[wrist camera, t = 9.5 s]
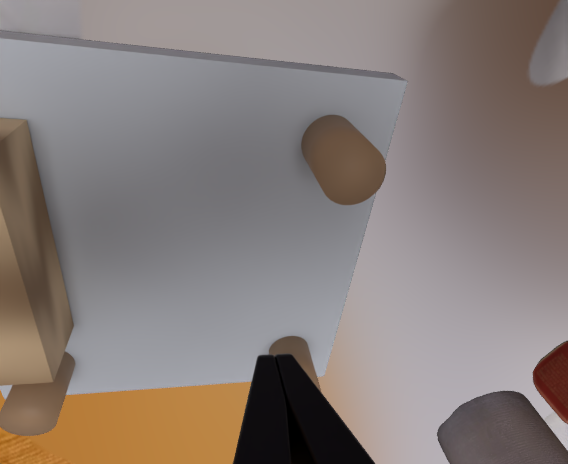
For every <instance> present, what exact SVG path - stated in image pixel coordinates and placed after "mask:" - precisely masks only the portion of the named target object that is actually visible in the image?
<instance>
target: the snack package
mask: <svg viewBox="0 0 568 464" xmlns="http://www.w3.org/2000/svg"><path fill="white" fill-rule="evenodd" d="M533 382H534V385H535V387H536V389H537V391H538V392H539V393H540V395H541V396H542V397H543V398H544V399H545V401H546V402H547V403H548V404H549V405H550V407H551V408H552V409H553V410H554V411H555V412H556V413H557V415H558V416H559V417H560V418H561V419H562V420H563V421H564V422H565V423H567V424H568V341H566V342H563V343H561V344H560V345H558V346H557V347H556V348H554V349H553V350H552V351H551V352H549V353H548V354H547V355H546V356H544V357H543V358H542V359H541V360H540V361H539V363H538V364H537V366H536V367H535V369H534V371H533Z"/></svg>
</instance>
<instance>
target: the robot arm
mask: <svg viewBox="0 0 568 464" xmlns="http://www.w3.org/2000/svg"><path fill="white" fill-rule="evenodd" d="M233 464H375V463H374V461H373V460H372V459H371V457H370V456H369V455H368V454H367V452H366V451H365V449H364V448H363V447H362V445H361V444H360V443H359V442H358V440H357V439H356V438H355V436H354V435H353V434H352V432H351V431H350V430H349V428H348V427H347V426H346V425H345V423H344V422H343V420H342V419H341V418H340V417H339V415H338V414H337V413H336V411H335V410H334V409H333V407H332V406H331V405H330V404H329V402H328V401H327V400H326V398H325V397H324V396H323V394H322V393H321V392H320V390H319V389H318V388H317V386H316V385H315V384H314V382H313V381H312V380H311V378H310V377H309V376H308V375H307V373H306V372H305V371H304V369H303V368H302V367H301V365H300V364H299V363H298V361H297V360H296V359H295V357H294V356H293V355H292V354H290V353H285V354H276V355H275V356H274V355H272V354H268V355H259V356H258V357H257V360H256V364H255V369H254V373H253V378H252V382H251V387H250V391H249V395H248V400H247V404H246V409H245V413H244V417H243V422H242V426H241V431H240V435H239V439H238V444H237V448H236V453H235V457H234V461H233Z"/></svg>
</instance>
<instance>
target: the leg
mask: <svg viewBox="0 0 568 464" xmlns="http://www.w3.org/2000/svg"><path fill="white" fill-rule="evenodd" d="M73 327H74V324H73V320H72V315H71V311H70V307H69V302H68V298H67V294H66V289H65V285H64V280H63V276H62V272H61V267H60V263H59V259H58V254H57V250H56V246H55V241H54V237H53V233H52V228H51V224H50V219H49V215H48V211H47V206H46V202H45V198H44V193H43V189H42V185H41V180H40V176H39V172H38V167H37V163H36V158H35V154H34V150H33V145H32V141H31V137H30V132H29V128H28V124H27V120H23V119H7V118H0V386H4V385H19V384H34V383H49V382H54V379H55V377H56V374H57V371H58V368H59V366H60V363H61V360H62V358H63V355H64V352H65V349H66V347H67V344H68V341H69V338H70V336H71V333H72V330H73Z"/></svg>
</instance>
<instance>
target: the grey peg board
mask: <svg viewBox="0 0 568 464" xmlns="http://www.w3.org/2000/svg"><path fill="white" fill-rule="evenodd" d="M407 82H408V81H407V80H404V79H403V78H401V77H399V76H397V75H395V74H393V73H385V72H376V71H367V70H358V69H348V68H338V67H330V66H321V65H312V64H302V63H293V62H284V61H275V60H265V59H256V58H247V57H238V56H229V55H219V54H211V53H201V52H192V51H183V50H174V49H165V48H155V47H146V46H137V45H127V44H118V43H109V42H100V41H91V40H82V39H72V38H63V37H54V36H45V35H36V34H26V33H17V32H8V31H0V118H7V119H23V120H27V124H28V128H29V132H30V137H31V141H32V145H33V150H34V154H35V158H36V163H37V167H38V172H39V176H40V180H41V185H42V189H43V193H44V198H45V202H46V206H47V211H48V215H49V219H50V224H51V228H52V233H53V237H54V241H55V246H56V250H57V254H58V259H59V263H60V267H61V272H62V276H63V280H64V285H65V289H66V294H67V298H68V302H69V307H70V311H71V315H72V320H73V324H74V327H73V330H72V333H71V336H70V338H69V341H68V344H67V347H66V349H65V352H64V355H63V358H62V360H61V363H60V366H59V368H58V371H57V374H56V377H55V379H54V382H49V383H34V384H19V385H4V386H0V390H1V392H2V395H3V397H4V399H6V401H5V403H4V405H3V407H2V410H1V411H0V427H1V428H2V429H4V430H5V431H7V432H10V433H12V434H16V435H22V436H34V435H40V434H44V433H47V432H49V431H50V430H52V429H53V428H54V427H55V426H56V424H57V420H58V417H59V414H60V411H61V408H62V405H63V402H64V399H65V396H66V395H72V394H85V393H99V392H113V391H126V390H141V389H153V388H168V387H182V386H196V385H210V384H223V383H237V382H251V381H252V378H253V373H254V369H255V364H256V360H257V357H258V356H259V355H268V354H272V355H274V356H275V355H276V354H285V353H290V354H292V355H293V356H294V357H295V359H296V360H297V361H298V363H299V364H300V365H301V367H302V368H303V369H304V371H305V372H306V373H307V375H308V376H309V377H310V378H311V380H312V381H313V382H314V384H315V385H316V386H317V388H318V389H319V390H320V392H321V389H320V385H319V382H318V378H317V377H320V376H324V375H325V371H326V368H327V364H328V361H329V357H330V354H331V350H332V346H333V343H334V340H335V336H336V333H337V329H338V326H339V322H340V319H341V315H342V311H343V308H344V304H345V301H346V297H347V293H348V290H349V287H350V283H351V280H352V276H353V273H354V269H355V265H356V262H357V259H358V255H359V251H360V248H361V244H362V241H363V237H364V234H365V230H366V227H367V223H368V219H369V216H370V213H371V209H372V205H373V202H374V198H375V195H376V192H377V190H378V189H379V188H380V186H381V185H382V182H383V181H384V178H385V174H386V164H385V160H386V156H387V152H388V149H389V146H390V142H391V138H392V135H393V131H394V128H395V124H396V121H397V117H398V114H399V110H400V107H401V103H402V99H403V96H404V93H405V89H406V86H407Z"/></svg>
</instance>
